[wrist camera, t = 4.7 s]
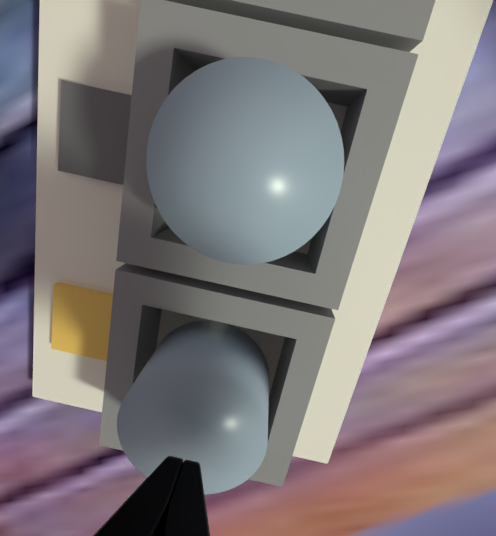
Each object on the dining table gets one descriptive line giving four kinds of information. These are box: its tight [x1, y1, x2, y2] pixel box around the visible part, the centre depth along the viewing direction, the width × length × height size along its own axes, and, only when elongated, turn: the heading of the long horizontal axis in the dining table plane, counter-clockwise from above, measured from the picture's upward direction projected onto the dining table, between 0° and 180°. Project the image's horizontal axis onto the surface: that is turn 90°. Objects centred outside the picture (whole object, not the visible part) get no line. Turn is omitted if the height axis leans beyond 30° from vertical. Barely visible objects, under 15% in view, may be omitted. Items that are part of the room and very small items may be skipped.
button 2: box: [146, 57, 344, 265], centre depth 9 cm, size 4×4×3 cm
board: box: [33, 0, 493, 487], centre depth 11 cm, size 14×24×3 cm, turn 168°
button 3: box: [117, 321, 269, 494], centre depth 11 cm, size 4×4×3 cm
